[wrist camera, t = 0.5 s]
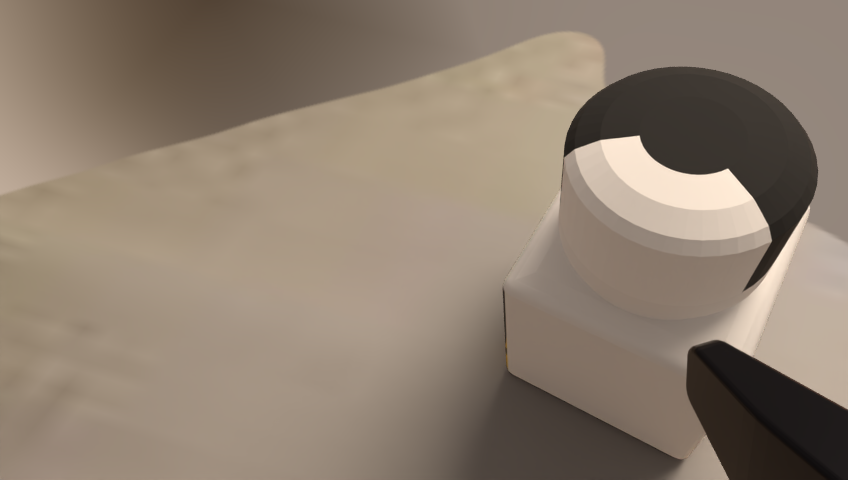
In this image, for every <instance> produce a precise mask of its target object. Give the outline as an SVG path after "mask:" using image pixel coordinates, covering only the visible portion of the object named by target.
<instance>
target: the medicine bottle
mask: <svg viewBox="0 0 848 480" xmlns="http://www.w3.org/2000/svg"><path fill="white" fill-rule="evenodd" d="M817 177H818V167H817V159H816V155H815V152H814V149H813V145H812V143H811V141H810V139H809V137H808V135H807V133H806V131H805V130H804V129H803V127H802V126H801V125H800V123H799V122H798V120H797V119H796V118H795V117H794V115H793V114H792V113H791V112H790V111H789V110H788V109H787V108H786V107H785V106H784V105H783V103H781V102H780V101H779V100H778V99H776V98H775V97H774V96H773V95H771V94H770V93H768V92H767V91H765V90H764V89H762V88H760V87H759V86H757V85H755V84H753V83H751V82H749V81H746V80H745V79H742V78H739V77H736V76H734V75H731V74H728V73H724V72H720V71H716V70H711V69H705V68H696V67H667V68H657V69H652V70H647V71H643V72H640V73H637V74H634V75H631V76H628V77H626V78H624V79H621V80H619V81H617V82H615V83H613V84H611V85H609V86H607V87H606V88H604V89H603V90H601V91H599V92H598V93H597V94H595V95H594V96H593V97H592V98H591V99H589V100H588V101H587V102H586V103H585V104H584V105H583V107H582V108H581V109H580V110H579V111H578V113H577V114H576V116H575V118H574V119H573V121H572V123H571V125H570V128H569V130H568V132H567V137H566V141H565V147H564V159H563V171H562V183H561V188H560V190H559V192H558V193H557V195H556V197H555V198H554V200H553V201H552V203H551V205H550V206H549V208H548V210H547V211H546V213H545V215H544V216H543V218H542V220H541V221H540V223H539V224H538V226H537V228H536V229H535V231H534V233H533V234H532V236H531V238H530V239H529V241H528V243H527V244H526V246H525V247H524V249H523V251H522V252H521V254H520V256H519V257H518V259H517V261H516V262H515V264H514V266H513V267H512V269H511V270H510V272H509V274H508V275H507V277H506V279H505V280H504V283H503V303H504V324H505V345H506V366H507V369H508V371H509V372H510V373H512V374H513V375H515V376H517V377H519V378H521V379H523V380H525V381H526V382H528V383H530V384H532V385H534V386H536V387H538V388H540V389H542V390H544V391H546V392H548V393H550V394H552V395H554V396H556V397H558V398H560V399H561V400H563V401H565V402H567V403H569V404H571V405H573V406H575V407H577V408H579V409H581V410H583V411H585V412H587V413H589V414H591V415H593V416H595V417H596V418H598V419H600V420H602V421H604V422H606V423H608V424H610V425H612V426H614V427H616V428H618V429H620V430H622V431H624V432H626V433H628V434H629V435H631V436H633V437H635V438H637V439H639V440H641V441H643V442H645V443H647V444H649V445H651V446H653V447H655V448H657V449H659V450H661V451H663V452H664V453H666V454H668V455H670V456H672V457H674V458H677V459H685V458H687V457H688V456H689V455H690V454H691V453H692V451H693V450H694V449H695V448H696V446H697V445H698V444H699V442H700V441H701V440H702V439H703V437H704V436H705V435H706V433H705V431H704V429H703V427H702V425H701V423H700V421H699V419H698V417H697V415H696V413H695V411H694V409H693V407H692V405H691V403H690V401H689V398H688V395H687V390H686V374H687V354H688V351H689V349H690V348H691V347H692V346H695V345H698V344H701V343H705V342H708V341H711V340H721V341H724V342H726V343H728V344H730V345H732V346H734V347H735V348H737V349H739V350H741V351H743V352H744V353H746V354H748V355H750V356H752V357H754V354H755V352H756V349H757V347H758V344H759V342H760V339H761V336H762V334H763V331H764V329H765V326H766V324H767V321H768V319H769V316H770V313H771V311H772V308H773V306H774V303H775V301H776V298H777V296H778V293H779V290H780V288H781V285H782V283H783V280H784V278H785V275H786V273H787V270H788V267H789V265H790V262H791V260H792V257H793V255H794V252H795V250H796V247H797V244H798V242H799V239H800V237H801V234H802V232H803V229H804V227H805V224H806V221H807V219H808V216H809V211H810V206H809V205H810V203H811V201H812V199H813V197H814V193H815V190H816V186H817Z"/></svg>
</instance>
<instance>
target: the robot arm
mask: <svg viewBox="0 0 848 480" xmlns="http://www.w3.org/2000/svg"><path fill="white" fill-rule="evenodd" d="M686 390H687V395H688V398H689V401H690V403H691V405H692V407H693V409H694V411H695V413H696V415H697V417H698V419H699V421H700V423H701V425H702V427H703V429H704V431H705V433H706V435H707V437H708V439H709V441H710V443H711V445H712V447H713V449H714V451H715V452H716V454H717V456H718V458H719V460H720V462H721V464H722V466H723V468H724V470H725V472H726V474H727V476H728V478H729V480H848V409H846V408H844V407H842V406H840V405H838V404H837V403H835V402H833V401H831V400H829V399H828V398H826V397H824V396H822V395H820V394H819V393H817V392H815V391H813V390H811V389H810V388H808V387H806V386H804V385H802V384H800V383H799V382H797V381H795V380H793V379H791V378H790V377H788V376H786V375H784V374H782V373H781V372H779V371H777V370H775V369H773V368H772V367H770V366H768V365H766V364H764V363H762V362H761V361H759V360H757V359H755V358H753V357H752V356H750V355H748V354H746V353H744V352H743V351H741V350H739V349H737V348H735V347H734V346H732V345H730V344H728V343H726V342H724V341H721V340H711V341H708V342H705V343H701V344H698V345H695V346H692V347H691V348H690V349H689V351H688V354H687V374H686Z"/></svg>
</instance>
